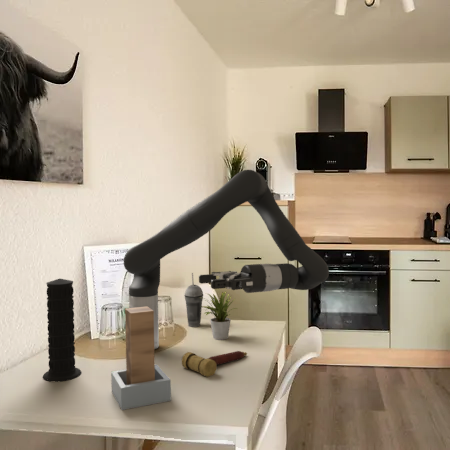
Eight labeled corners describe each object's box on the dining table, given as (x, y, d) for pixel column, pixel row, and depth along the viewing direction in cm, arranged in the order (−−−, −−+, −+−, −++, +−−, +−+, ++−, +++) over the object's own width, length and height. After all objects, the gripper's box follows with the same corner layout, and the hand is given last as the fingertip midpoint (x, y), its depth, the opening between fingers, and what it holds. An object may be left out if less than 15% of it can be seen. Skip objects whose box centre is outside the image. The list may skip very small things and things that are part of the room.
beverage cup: (189, 328, 173) (188, 275, 172) (181, 324, 180) (181, 272, 179) (207, 326, 176) (206, 273, 176) (199, 322, 183) (198, 271, 182)
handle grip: (88, 374, 127) (71, 365, 135) (86, 278, 126) (68, 274, 133) (52, 384, 120) (36, 374, 128) (49, 282, 119) (33, 278, 126)
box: (111, 391, 116) (111, 371, 115) (157, 383, 120) (156, 364, 120) (121, 410, 105) (121, 388, 105) (170, 400, 110) (170, 379, 110)
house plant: (203, 330, 171) (203, 286, 170) (241, 331, 169) (240, 286, 168) (195, 341, 157) (195, 293, 156) (236, 343, 155) (236, 294, 154)
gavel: (235, 342, 146) (258, 349, 138) (234, 357, 146) (258, 365, 138) (181, 353, 131) (204, 361, 124) (180, 369, 131) (203, 379, 124)
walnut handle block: (126, 389, 114) (125, 308, 113) (148, 385, 116) (147, 306, 116) (132, 398, 109) (130, 313, 108) (155, 393, 111) (153, 310, 111)
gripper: (249, 260, 133) (195, 263, 126) (274, 267, 120) (215, 271, 113) (249, 287, 133) (195, 291, 127) (274, 296, 120) (215, 301, 114)
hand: (205, 281), depth 120 cm, fingers open, 8 cm apart
